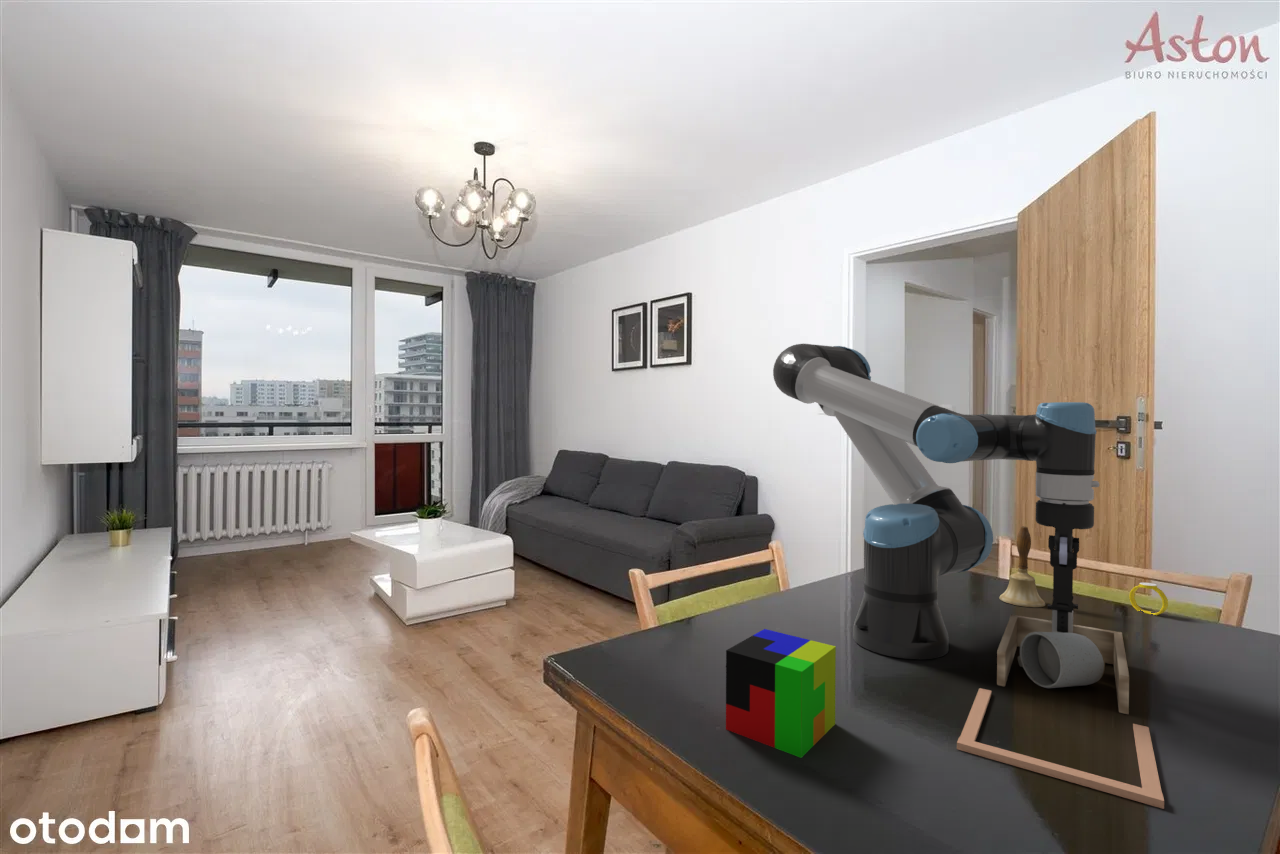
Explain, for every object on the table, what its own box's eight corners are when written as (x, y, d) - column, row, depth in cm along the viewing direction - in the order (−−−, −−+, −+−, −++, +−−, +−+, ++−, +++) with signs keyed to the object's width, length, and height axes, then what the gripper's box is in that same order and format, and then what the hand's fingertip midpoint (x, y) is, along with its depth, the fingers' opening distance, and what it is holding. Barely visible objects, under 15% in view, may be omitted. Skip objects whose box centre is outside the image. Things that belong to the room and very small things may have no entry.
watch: (1127, 611, 124) (1125, 581, 124) (1135, 609, 125) (1133, 580, 126) (1163, 618, 119) (1161, 587, 119) (1170, 616, 120) (1168, 585, 120)
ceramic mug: (1110, 692, 87) (1110, 638, 87) (1061, 697, 85) (1061, 642, 85) (1046, 664, 97) (1046, 616, 97) (1002, 668, 95) (1002, 619, 95)
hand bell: (1044, 599, 131) (1045, 525, 131) (1046, 610, 124) (1046, 531, 124) (999, 593, 135) (1000, 522, 135) (998, 603, 128) (999, 527, 128)
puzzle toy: (764, 701, 84) (764, 628, 84) (835, 724, 78) (835, 646, 77) (725, 730, 76) (726, 650, 76) (801, 758, 70) (801, 671, 70)
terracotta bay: (956, 749, 72) (956, 742, 72) (979, 691, 87) (979, 685, 87) (1163, 809, 61) (1164, 801, 61) (1148, 731, 76) (1148, 724, 76)
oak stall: (996, 684, 89) (997, 650, 89) (1010, 643, 106) (1011, 614, 105) (1128, 714, 80) (1129, 676, 80) (1121, 663, 97) (1121, 632, 97)
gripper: (1095, 507, 88) (1092, 670, 88) (1093, 498, 99) (1090, 643, 99) (1033, 503, 92) (1031, 658, 93) (1037, 494, 103) (1035, 633, 103)
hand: (1062, 650), depth 96 cm, fingers closed
